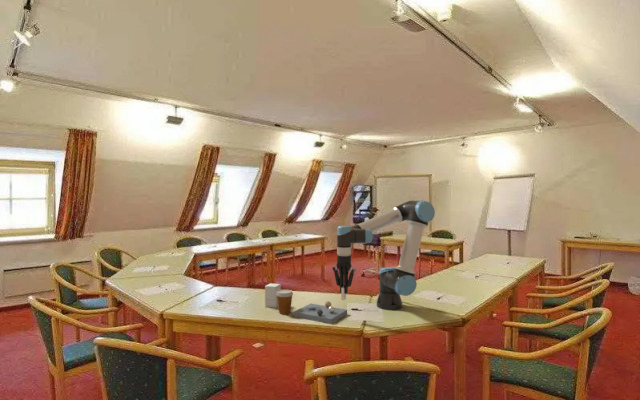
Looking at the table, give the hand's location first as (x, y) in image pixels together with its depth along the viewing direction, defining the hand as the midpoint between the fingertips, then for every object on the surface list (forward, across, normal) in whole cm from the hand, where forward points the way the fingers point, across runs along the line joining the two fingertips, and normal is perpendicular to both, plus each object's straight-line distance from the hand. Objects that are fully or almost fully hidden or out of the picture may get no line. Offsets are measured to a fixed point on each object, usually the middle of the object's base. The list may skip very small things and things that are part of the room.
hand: (343, 299), depth 193 cm
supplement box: (+12, +49, -2) cm, 50 cm away
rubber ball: (+7, +11, +7) cm, 14 cm away
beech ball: (+7, +14, -7) cm, 17 cm away
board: (+11, +15, 0) cm, 18 cm away
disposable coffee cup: (+12, +35, +6) cm, 37 cm away
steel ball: (+7, +8, 0) cm, 10 cm away
